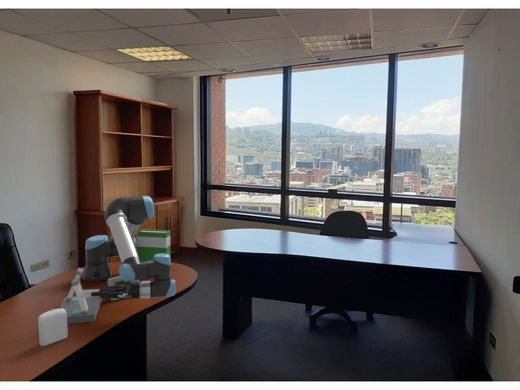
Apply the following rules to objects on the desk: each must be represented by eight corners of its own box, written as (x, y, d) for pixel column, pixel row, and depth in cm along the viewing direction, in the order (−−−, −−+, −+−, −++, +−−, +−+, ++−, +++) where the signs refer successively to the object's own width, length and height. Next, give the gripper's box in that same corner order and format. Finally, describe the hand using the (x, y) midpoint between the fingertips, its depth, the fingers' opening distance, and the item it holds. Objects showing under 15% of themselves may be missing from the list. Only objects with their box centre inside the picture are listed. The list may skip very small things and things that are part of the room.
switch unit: (101, 300, 200) (101, 294, 200) (94, 321, 177) (94, 314, 177) (65, 302, 197) (65, 296, 196) (53, 324, 173) (53, 317, 173)
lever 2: (89, 308, 183) (79, 277, 180) (87, 312, 177) (77, 281, 175) (83, 309, 182) (73, 278, 179) (81, 314, 177) (71, 283, 174)
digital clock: (109, 302, 198) (109, 281, 197) (105, 296, 206) (105, 275, 205) (143, 296, 207) (143, 276, 206) (138, 290, 215) (138, 271, 213)
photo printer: (42, 347, 154) (40, 316, 153) (37, 343, 157) (35, 312, 155) (69, 338, 162) (68, 307, 160) (64, 334, 165) (63, 305, 163)
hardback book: (137, 270, 247) (137, 231, 244) (142, 267, 255) (142, 229, 252) (166, 272, 246) (166, 232, 243) (170, 268, 253) (170, 230, 250)
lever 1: (72, 297, 196) (84, 269, 195) (70, 302, 191) (82, 272, 190) (67, 296, 195) (78, 267, 195) (64, 300, 190) (76, 271, 189)
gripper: (140, 303, 179) (81, 308, 172) (140, 293, 191) (85, 296, 185) (139, 286, 178) (80, 290, 172) (140, 277, 190) (85, 280, 184)
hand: (83, 293), depth 178 cm, fingers closed
